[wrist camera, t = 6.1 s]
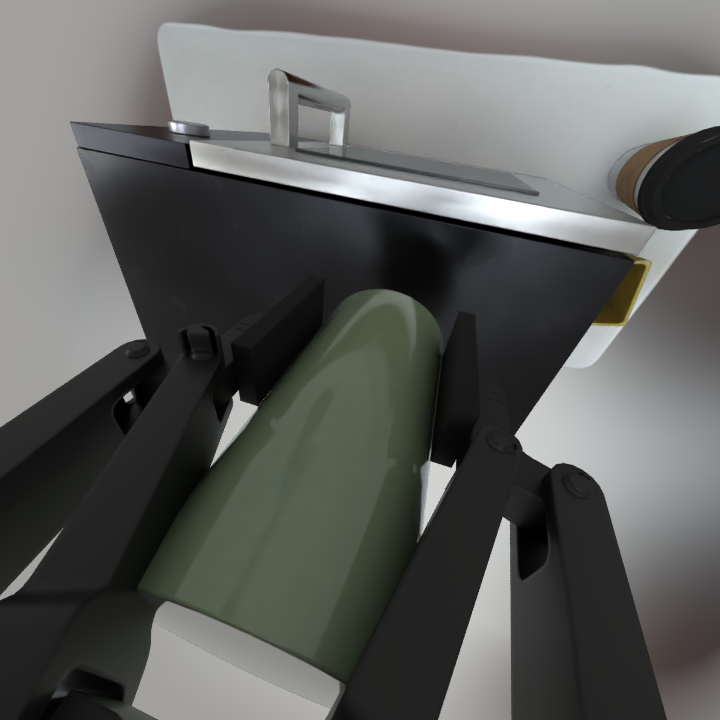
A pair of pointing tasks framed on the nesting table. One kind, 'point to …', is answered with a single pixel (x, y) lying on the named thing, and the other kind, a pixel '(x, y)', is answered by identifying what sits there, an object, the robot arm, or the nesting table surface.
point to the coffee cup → (672, 181)
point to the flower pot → (624, 295)
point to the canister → (311, 504)
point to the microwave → (331, 255)
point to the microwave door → (412, 177)
